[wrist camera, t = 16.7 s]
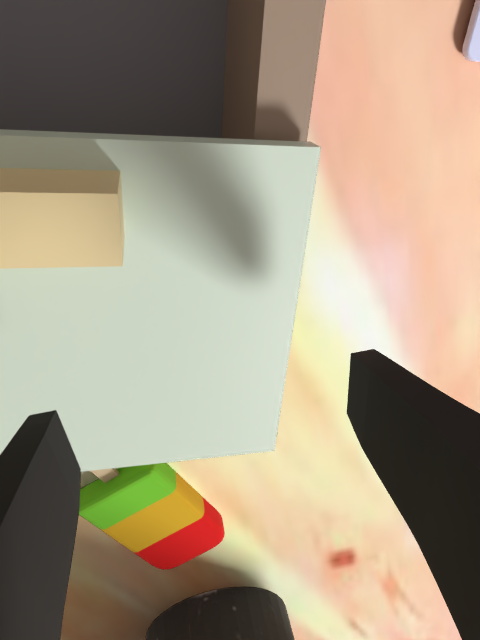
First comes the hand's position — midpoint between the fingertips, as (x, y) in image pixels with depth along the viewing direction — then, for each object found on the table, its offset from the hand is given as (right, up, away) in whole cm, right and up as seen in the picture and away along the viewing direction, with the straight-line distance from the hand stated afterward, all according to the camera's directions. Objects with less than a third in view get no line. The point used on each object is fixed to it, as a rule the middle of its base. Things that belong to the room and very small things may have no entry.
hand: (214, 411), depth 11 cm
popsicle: (-6, -8, +16) cm, 19 cm away
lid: (-6, +2, +2) cm, 6 cm away
